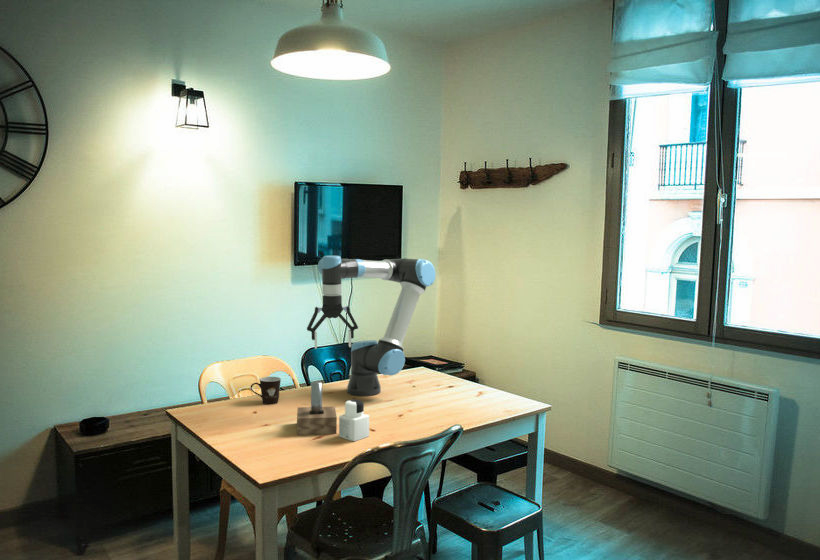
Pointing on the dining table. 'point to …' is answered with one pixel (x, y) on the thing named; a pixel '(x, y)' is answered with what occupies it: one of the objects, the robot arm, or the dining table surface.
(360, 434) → the container
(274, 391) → the coffee mug
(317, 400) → the pin
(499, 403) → the dining table surface
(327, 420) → the bore block
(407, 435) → the dining table surface
